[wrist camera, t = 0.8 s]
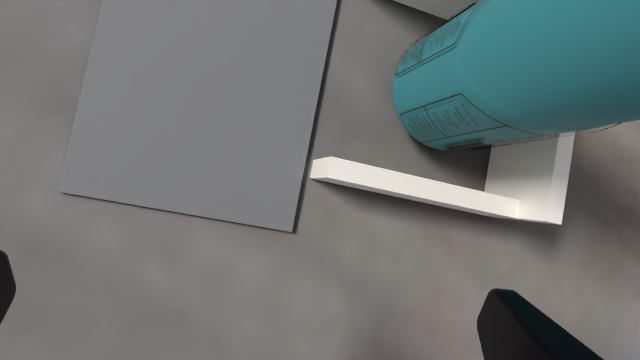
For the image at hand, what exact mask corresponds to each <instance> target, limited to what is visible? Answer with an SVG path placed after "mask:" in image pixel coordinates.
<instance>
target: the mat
mask: <svg viewBox="0 0 640 360" xmlns="http://www.w3.org/2000/svg"><path fill="white" fill-rule="evenodd" d="M336 3H337V0H102V3H101V8H100V12H99V16H98V20H97V25H96V29H95V33H94V37H93V42H92V46H91V50H90V54H89V59H88V63H87V67H86V71H85V76H84V80H83V84H82V88H81V92H80V97H79V101H78V105H77V109H76V114H75V118H74V122H73V126H72V131H71V135H70V139H69V143H68V148H67V152H66V156H65V160H64V165H63V169H62V173H61V177H60V182H59V186H58V190H57V192H63V193H69V194H75V195H80V196H86V197H92V198H98V199H104V200H109V201H115V202H121V203H127V204H132V205H138V206H144V207H150V208H156V209H161V210H167V211H173V212H179V213H184V214H190V215H196V216H202V217H207V218H213V219H219V220H225V221H231V222H236V223H242V224H248V225H254V226H259V227H265V228H271V229H277V230H282V231H288V232H292V229H293V224H294V219H295V213H296V208H297V203H298V198H299V193H300V188H301V183H302V178H303V172H304V167H305V162H306V157H307V152H308V147H309V142H310V137H311V131H312V126H313V121H314V116H315V111H316V106H317V101H318V96H319V90H320V85H321V80H322V75H323V70H324V65H325V60H326V55H327V49H328V44H329V39H330V34H331V29H332V24H333V19H334V13H335V8H336Z"/></svg>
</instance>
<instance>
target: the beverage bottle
mask: <svg viewBox="0 0 640 360" xmlns="http://www.w3.org/2000/svg"><path fill="white" fill-rule="evenodd" d="M477 1H478V0H477ZM475 2H476V1H475ZM475 2H474V3H472V4H471V6H470V5H468V8H467V7H466V8H465V7H464V8H465V10H464V9H463V10H462V12H461V11H460V10H459V11H460V12H459V14H458V13H457V12H456V13H457V14H456V15H454V14H453V15H454V16H451V17H450V20H449V18H448V20H447V22H446V20H445V22H444V24H443V23H442V24H441V26H442V27H440V25H439V26H438V27H440V28H439V29H437V30H436V28H437V27H436V28H435V30H436V31H434V29H433V31H434V32H431V31H430V32H431V34H430V35H427V36H426V37H425V38H423V39H422V40H420V41H419V42H417V43H416V44H414V45H413V46H412V47H411V48H410V49H409V50H408V51H407V52H406V53H405V55H404V56H403V58H402V59H401V58H400V59H401V61H400V60H399V61H400V63H398V64H399V65H397V66H398V67H397V68H396V72H395V75H394V78H393V84H392V99H393V105H394V109H395V112H396V114H397V117H398V119H399V121H400V122H401V124H402V126H403V127H404V128H405V130H406V131H407V132H408V133H409V134H410V135H411V136H412V137H413V138H415V139H416V140H417V141H419V142H420V143H422V144H423V145H424V144H425V146H426V145H427V146H429V147H432V148H436V149H440V150H443V151H444V150H453V151H454V149H461V148H468V149H469V147H470V148H471V147H474V146H480V147H481V145H482V146H484V145H488V144H494V143H501V142H502V143H503V142H507V141H514V140H519V141H521V140H520V139H524V140H525V139H527V138H529V139H531V138H533V137H535V138H536V137H540V136H547V135H548V136H550V135H553V134H555V135H556V134H560V133H561V134H562V133H566V132H567V133H569V132H572V133H571V134H573V131H579V130H585V129H591V128H598V127H602V126H606V125H610V124H616V123H619V124H621V123H623V122H629V121H635V120H640V0H481V1H480V2H477V3H475ZM452 17H453V18H452ZM431 30H432V29H431ZM427 34H429V33H428V32H427ZM425 35H426V34H425ZM425 35H424V36H425ZM421 38H422V36H421ZM418 40H419V39H418ZM415 42H416V41H415ZM412 44H413V43H412ZM405 51H406V50H405ZM403 54H404V53H403ZM617 125H618V124H617ZM614 126H616V125H614ZM612 127H613V126H612ZM609 128H610V127H609ZM606 129H607V128H606ZM603 130H604V129H603ZM600 131H601V130H600ZM596 132H597V131H596ZM567 133H566V134H567ZM592 133H593V132H592ZM568 135H569V134H568ZM548 136H547V137H548ZM558 136H559V137H560V135H558ZM555 137H557V136H555ZM555 137H554V138H555ZM563 137H564V136H563ZM540 138H542V137H540ZM529 139H528V140H529ZM542 139H543V138H542ZM549 139H550V137H549ZM538 140H541V139H538ZM538 140H537V141H538ZM543 140H545V139H543ZM546 140H547V138H546ZM522 141H523V140H522ZM529 141H530V140H529ZM534 141H535V140H534ZM514 142H515V141H514ZM514 142H512V144H513V143H514ZM530 142H532V141H530ZM510 143H511V142H510ZM524 143H525V141H524ZM512 144H511V145H512ZM515 144H516V143H515ZM518 144H519V143H518ZM505 145H510V144H509V143H508V144H507V143H506V144H505ZM498 146H503V145H498ZM491 147H496V146H494V145H491ZM432 148H431V149H432ZM484 148H489V147H484ZM471 149H473V150H475V149H482V148H479V147H478V148H475V147H474V148H471ZM433 150H434V149H433ZM436 151H437V150H436ZM463 151H464V150H463ZM466 151H467V149H466ZM439 152H440V151H439ZM460 152H461V151H460ZM445 153H447V152H445ZM454 153H455V152H454Z"/></svg>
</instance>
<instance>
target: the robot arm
mask: <svg viewBox="0 0 640 360" xmlns="http://www.w3.org/2000/svg"><path fill="white" fill-rule="evenodd" d="M15 292H16V283H15V280H14V276H13V273H12V269H11V266H10V262H9V259H8V256H7V254H6V253H5V252H3V251H1V250H0V324H1V322H2V320H3V318H4V316H5V315H6V313H7V311H8V309H9V307H10V305H11V303H12V301H13V299H14V296H15ZM477 330H478V335H479V339H480V343H481V348H482V352H483V356H484V360H604V359H602V358H601V357H600V356H598V355H597V354H596V353H594V352H593V351H592V350H591V349H589V348H588V347H587V346H585V345H584V344H583V343H582V342H580V341H579V340H578V339H576V338H575V337H574V336H572V335H571V334H570V333H569V332H567V331H566V330H565V329H563V328H562V327H561V326H559V325H558V324H557V323H556V322H554V321H553V320H552V319H550V318H549V317H548V316H547V315H545V314H544V313H543V312H541V311H540V310H539V309H537V308H536V307H535V306H534V305H532V304H531V303H530V302H528V301H527V300H526V299H524V298H523V297H522V296H521V295H519V294H518V293H517V292H515V291H513V290H510V289H498V288H495V289H492V290H491V291H489V293H488V295H487V297H486V300H485V302H484V304H483V307H482V309H481V311H480V313H479V316H478V319H477Z"/></svg>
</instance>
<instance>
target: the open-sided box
mask: <svg viewBox="0 0 640 360" xmlns="http://www.w3.org/2000/svg"><path fill="white" fill-rule="evenodd" d="M393 1H396V2H399V3H402V4H404V5H407V6H410V7H413V8H415V9H418V10H421V11H424V12H427V13H429V14H432V15H435V16H438V17H440V18H443V19H446V20H448V18H449V20H450V17H451V16H454V15H456V14H457V13H458V14H459V12H460V11H461V12H462V10H463V9H464V10H465V8H466V7H467V8H468V5H470V6H471V4H472V3H474V2H475V1H476V2H475V3H477V2H480V1H481V0H478V1H477V0H393ZM464 7H465V8H464ZM459 10H460V11H459ZM456 12H457V13H456ZM453 14H454V15H453ZM452 18H453V17H452ZM566 133H567V132H566ZM566 133H562V134H561V133H560V134H556V135H555V134H553V135H550V136H548V135H547V136H548V137H547V136H540V137H542V138H543V139H545V140H543V139H542V138H540V137H536V138H535V137H533V138H531V139H529V138H527V139H525V140H524V139H520V140H521V141H519V140H514V141H515V142H514V141H507V142H503V143H502V142H501V143H494V144H492V145H494V146H496V147H491V153H490V159H489V165H488V171H487V177H486V183H485V189H484V192H482V191H477V190H473V189H469V188H465V187H460V186H456V185H452V184H447V183H443V182H439V181H434V180H430V179H426V178H422V177H417V176H413V175H409V174H404V173H400V172H396V171H391V170H387V169H383V168H378V167H374V166H370V165H366V164H361V163H357V162H353V161H348V160H344V159H340V158H335V157H326V158H321V159H317V160H313V165H312V170H311V175H310V178H311V179H315V180H320V181H325V182H329V183H334V184H339V185H343V186H348V187H353V188H358V189H362V190H367V191H372V192H376V193H381V194H386V195H390V196H395V197H400V198H404V199H409V200H414V201H418V202H423V203H428V204H432V205H437V206H442V207H447V208H451V209H456V210H461V211H465V212H470V213H475V214H479V215H484V216H489V217H493V218H502V219H512V220H522V221H531V222H541V223H550V224H560V225H561V224H562V218H563V211H564V204H565V198H566V191H567V184H568V178H569V171H570V164H571V158H572V151H573V144H574V138H575V131H573V134H571V133H572V132H569V133H567V134H566ZM568 134H569V135H568ZM558 135H560V137H559V136H558ZM555 136H557V137H555ZM563 136H564V137H563ZM549 137H550V139H549ZM554 137H555V138H554ZM546 138H547V140H546ZM528 139H529V140H530V141H532V142H530V141H529V140H528ZM538 139H541V140H538ZM522 140H523V141H522ZM534 140H535V141H534ZM537 140H538V141H537ZM524 141H525V143H524ZM510 142H511V143H510ZM512 142H514V143H513V144H512ZM506 143H507V144H508V143H509V144H510V145H505V144H506ZM515 143H516V144H515ZM518 143H519V144H518ZM511 144H512V145H511ZM498 145H503V146H498Z"/></svg>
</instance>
